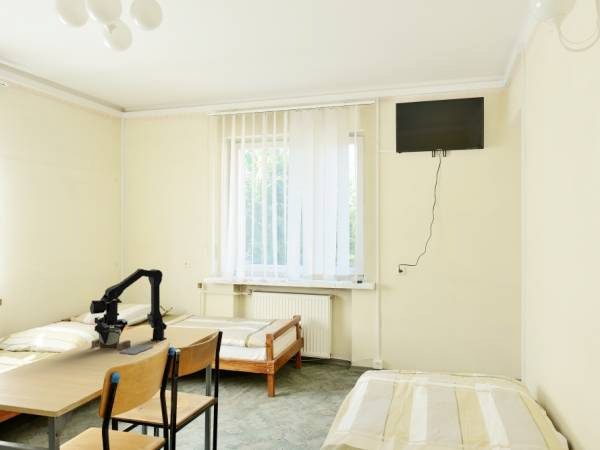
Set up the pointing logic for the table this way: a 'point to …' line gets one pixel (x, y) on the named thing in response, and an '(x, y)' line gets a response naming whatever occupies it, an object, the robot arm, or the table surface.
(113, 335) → the food container
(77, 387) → the table surface
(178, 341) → the table surface
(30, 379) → the table surface
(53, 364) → the table surface
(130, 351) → the mat
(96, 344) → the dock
